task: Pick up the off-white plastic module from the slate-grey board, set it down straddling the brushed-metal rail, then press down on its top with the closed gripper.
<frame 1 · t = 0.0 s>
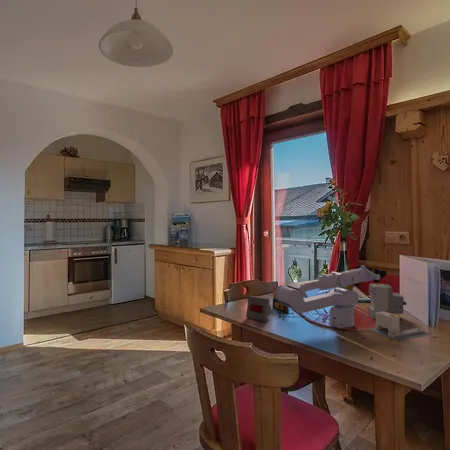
hand: (378, 271, 145), 22 cm above the table, tool horizontal, fingers open, 7 cm apart
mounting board: (399, 333, 129), on the table
module: (387, 330, 131), point 1 cm above the table, touching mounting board
din rail: (406, 334, 126), resting on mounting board
voltmeter: (275, 320, 146), on the table
ammunition clip: (280, 311, 161), on the table
circuit breaker: (387, 319, 148), on the table
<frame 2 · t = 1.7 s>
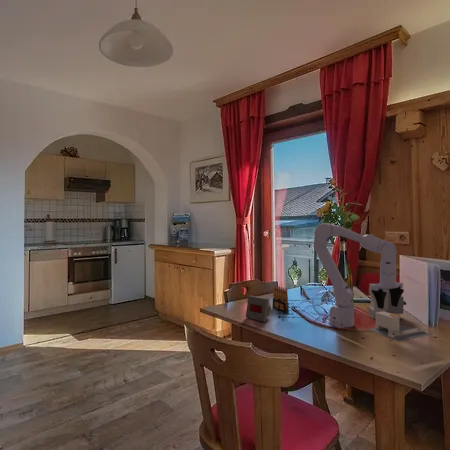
hand: (387, 307, 131), 10 cm above the table, tool pointing down, fingers open, 7 cm apart
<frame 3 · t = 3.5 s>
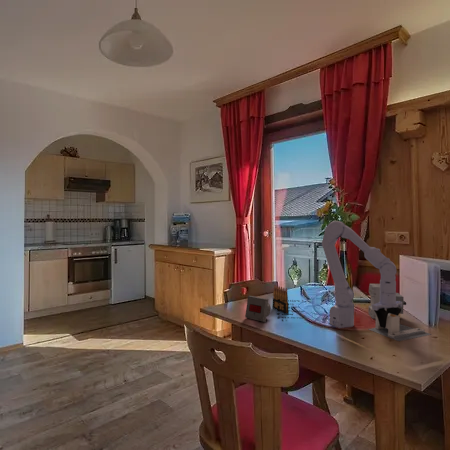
hand: (387, 326, 131), 2 cm above the table, tool pointing down, fingers closed on module, 4 cm apart
module: (387, 330, 131), point 1 cm above the table, touching gripper, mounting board
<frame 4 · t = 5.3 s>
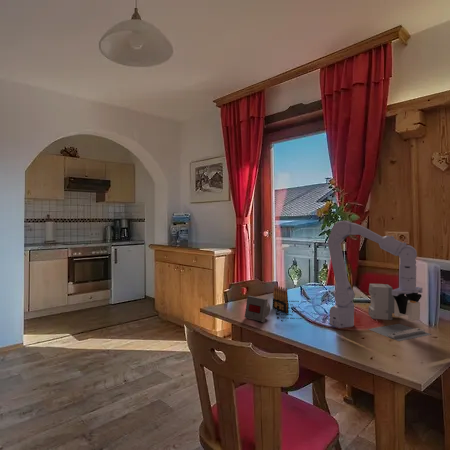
hand: (406, 312, 126), 9 cm above the table, tool pointing down, fingers closed on module, 4 cm apart
module: (406, 317, 126), point 7 cm above the table, touching gripper
when the fingers open (3 cm above the table, at t = 7.2 s): module stays where it is, resting on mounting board.
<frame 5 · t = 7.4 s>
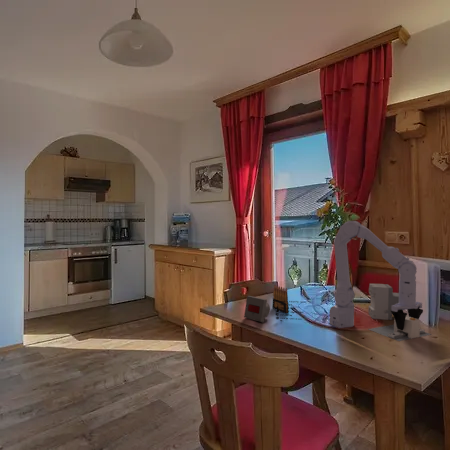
hand: (406, 328, 126), 3 cm above the table, tool pointing down, fingers open, 6 cm apart
module: (406, 334, 126), point 1 cm above the table, touching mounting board
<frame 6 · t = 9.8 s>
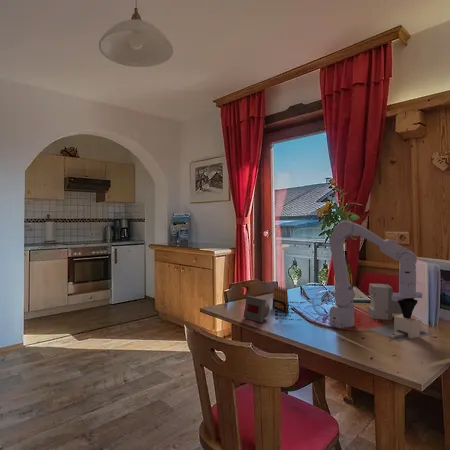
hand: (406, 318, 126), 7 cm above the table, tool pointing down, fingers closed, pressing on module
module: (406, 334, 126), point 1 cm above the table, touching gripper, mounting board
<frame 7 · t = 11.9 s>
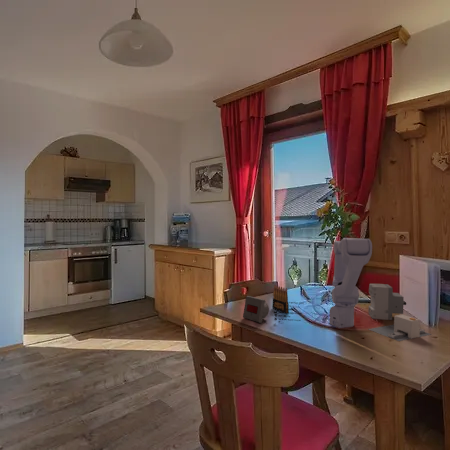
hand: (339, 296, 149), 10 cm above the table, tool pointing down, fingers closed
module: (406, 334, 126), point 1 cm above the table, touching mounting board
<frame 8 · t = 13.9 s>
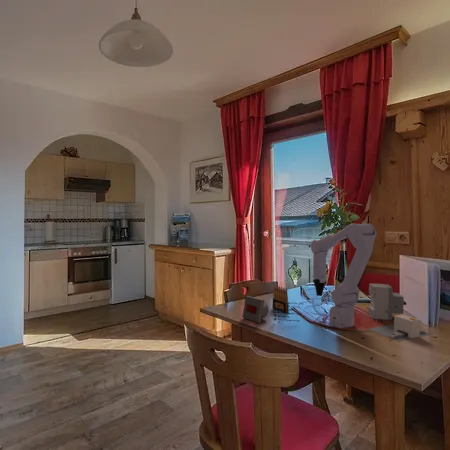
hand: (319, 295, 153), 9 cm above the table, tool pointing down, fingers closed
at the end: module inside the target area on the din rail (0.0 cm from its centre), point 0.0 cm above the din rail's base; module tilted 0°; the gripper is holding nothing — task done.
